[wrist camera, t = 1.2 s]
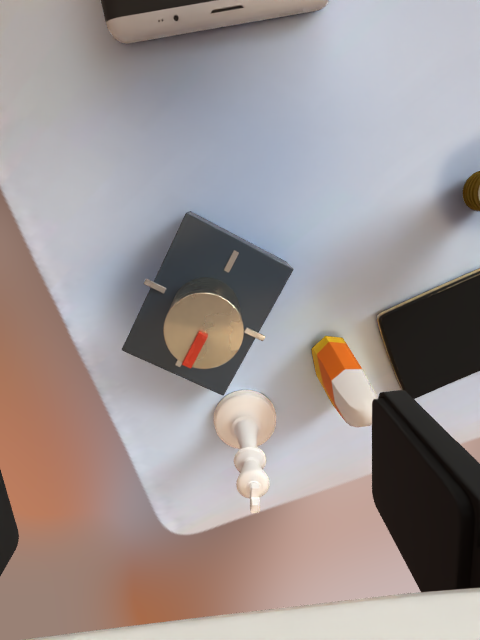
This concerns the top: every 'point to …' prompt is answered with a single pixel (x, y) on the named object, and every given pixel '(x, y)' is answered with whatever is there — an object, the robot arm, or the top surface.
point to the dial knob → (204, 324)
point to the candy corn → (344, 381)
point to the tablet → (192, 15)
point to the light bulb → (472, 191)
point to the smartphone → (434, 335)
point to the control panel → (214, 262)
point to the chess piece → (247, 438)
